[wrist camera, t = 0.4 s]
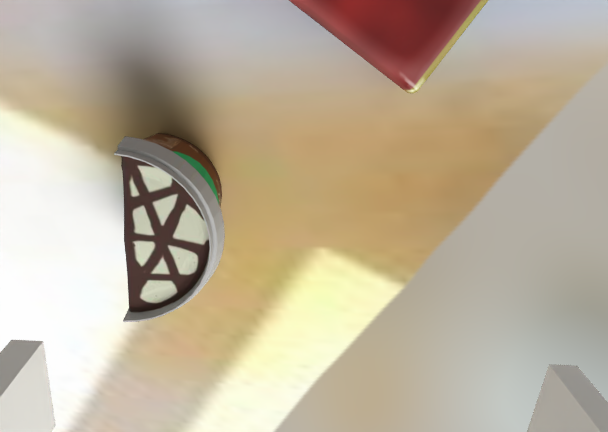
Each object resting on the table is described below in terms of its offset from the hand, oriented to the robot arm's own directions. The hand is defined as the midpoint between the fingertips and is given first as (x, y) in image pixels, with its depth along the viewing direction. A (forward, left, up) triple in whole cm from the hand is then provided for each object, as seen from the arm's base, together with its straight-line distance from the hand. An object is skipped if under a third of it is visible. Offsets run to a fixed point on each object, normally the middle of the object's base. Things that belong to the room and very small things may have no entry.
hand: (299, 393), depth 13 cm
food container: (+4, -7, -27) cm, 28 cm away
